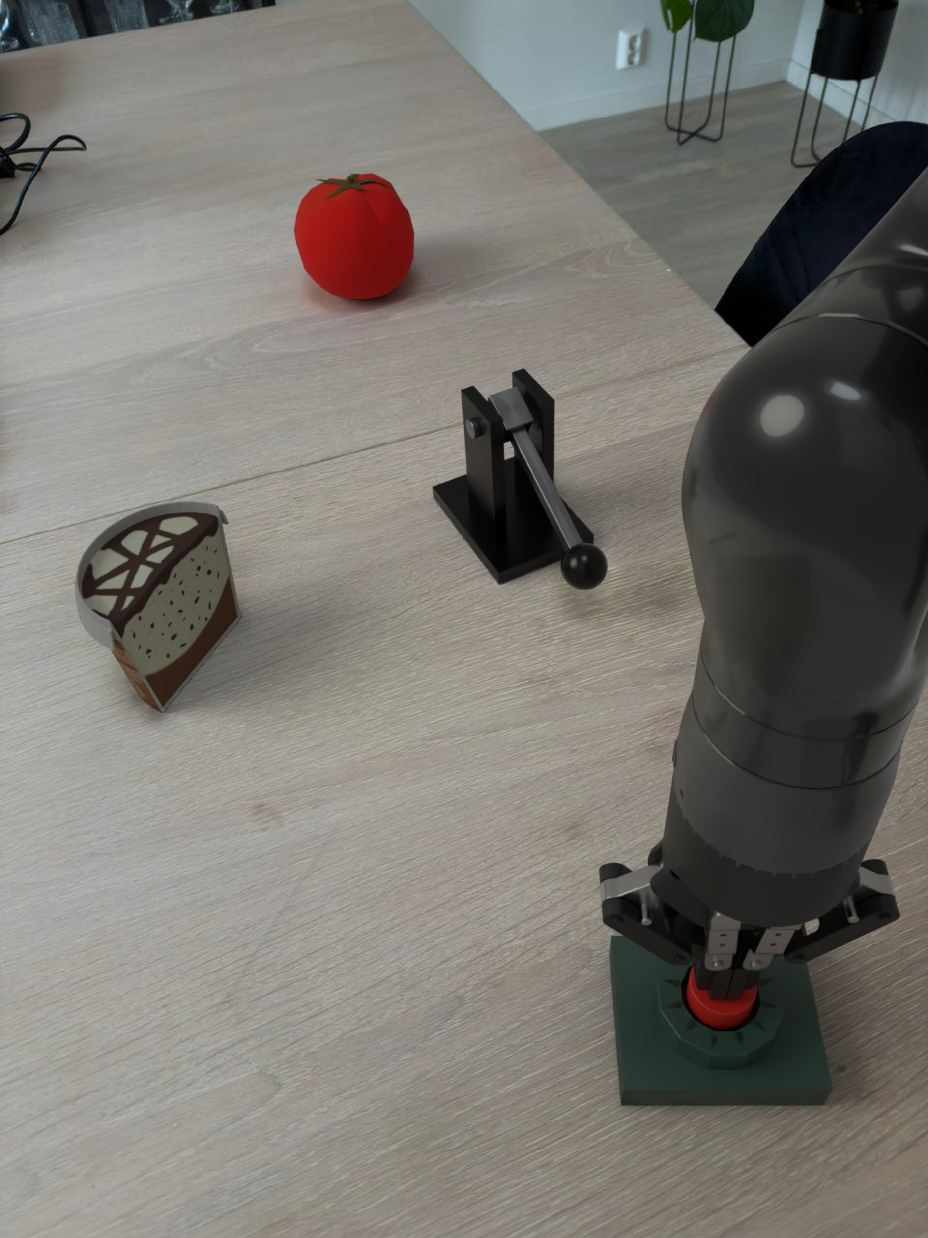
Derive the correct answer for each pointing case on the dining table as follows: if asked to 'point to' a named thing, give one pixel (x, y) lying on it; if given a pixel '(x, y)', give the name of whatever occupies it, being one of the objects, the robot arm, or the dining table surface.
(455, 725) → the dining table surface
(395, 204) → the tomato
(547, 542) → the black bracket
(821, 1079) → the control block
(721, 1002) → the button
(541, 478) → the lever
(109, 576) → the cake slice
